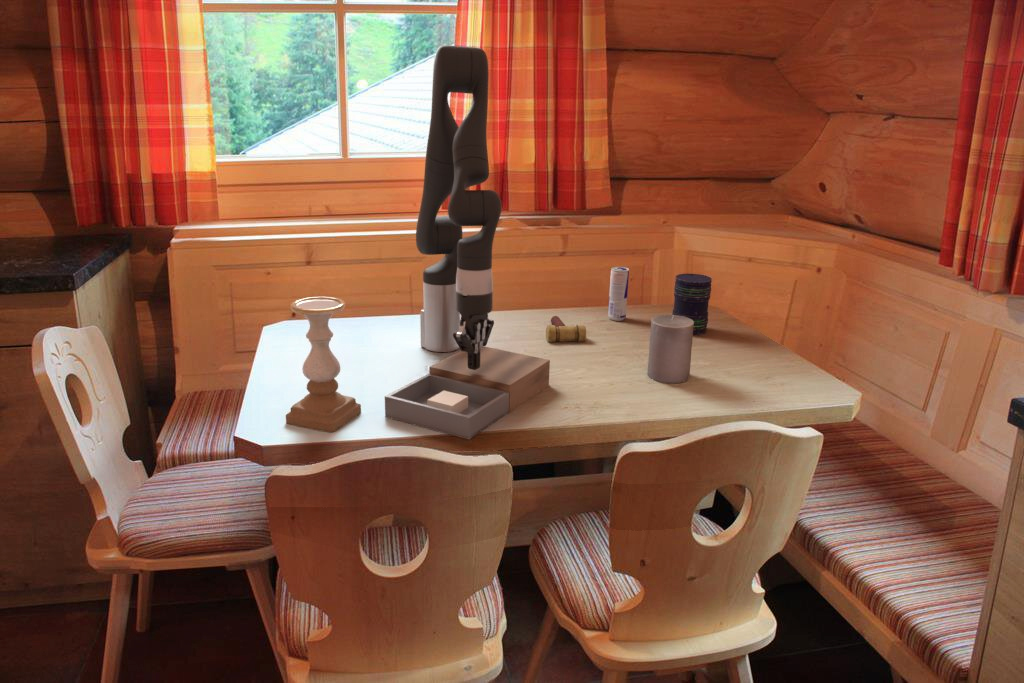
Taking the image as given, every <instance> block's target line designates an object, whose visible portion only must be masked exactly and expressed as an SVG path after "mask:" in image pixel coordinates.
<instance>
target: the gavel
mask: <svg viewBox="0 0 1024 683" xmlns="http://www.w3.org/2000/svg"><path fill="white" fill-rule="evenodd" d="M550 322H551V325H550V324H549V325H546V327H545V340H546V341H547V343H556V342H557V341H558V342H574V341H577V342H578V343H584V342H586V340H587V328H586V325H585V324H576V326H574V325H567V326H566V324H565V323H564V322H563V321H562V319H561V318H560V317H559V316H557V315H554V316H552V317H551V318H550Z"/></svg>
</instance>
